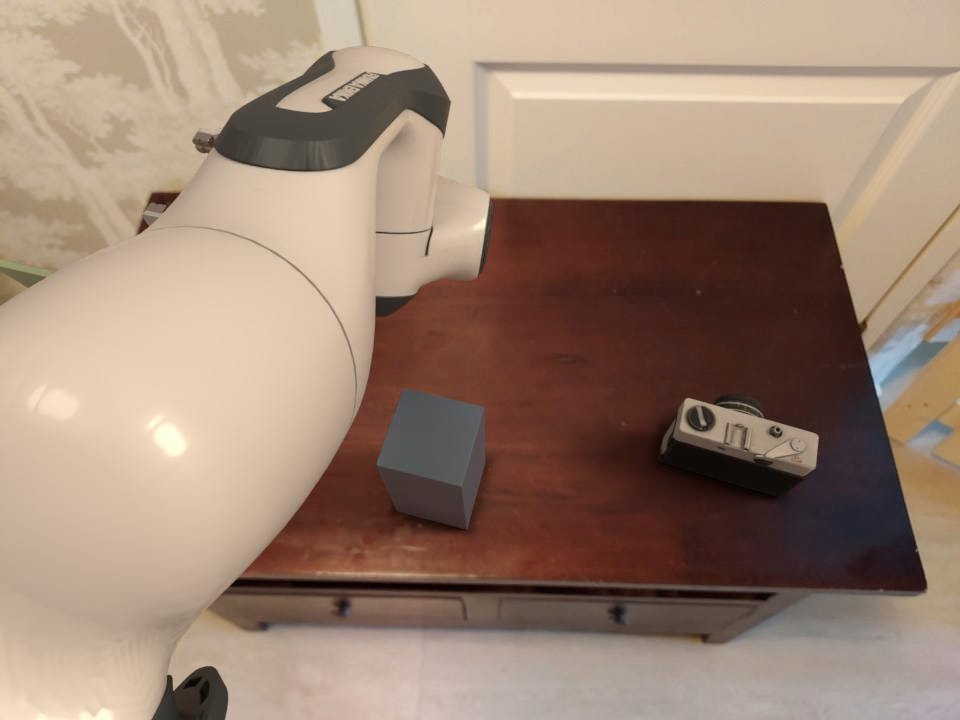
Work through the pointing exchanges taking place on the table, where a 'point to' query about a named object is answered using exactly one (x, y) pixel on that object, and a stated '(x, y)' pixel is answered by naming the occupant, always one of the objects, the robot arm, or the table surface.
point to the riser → (434, 457)
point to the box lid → (24, 273)
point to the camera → (738, 445)
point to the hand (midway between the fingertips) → (174, 175)
